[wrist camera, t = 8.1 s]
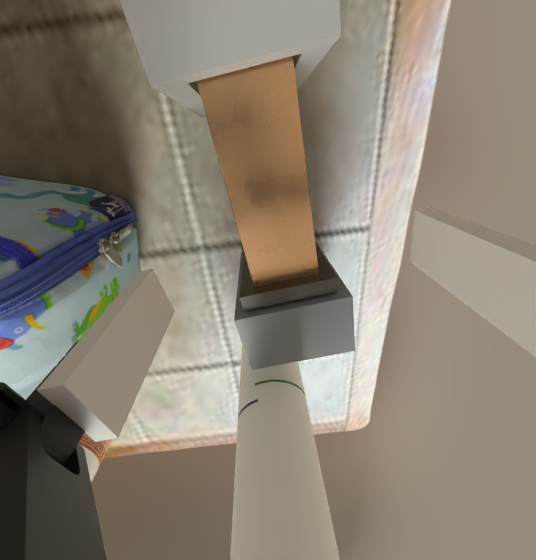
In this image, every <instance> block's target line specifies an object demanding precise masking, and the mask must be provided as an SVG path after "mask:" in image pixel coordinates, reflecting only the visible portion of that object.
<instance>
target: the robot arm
mask: <svg viewBox="0 0 536 560" xmlns="http://www.w3.org/2000/svg"><path fill="white" fill-rule="evenodd" d="M410 262H411V263H412V264H413V265H415V266H416V267H417V268H419V269H420V270H421V271H423V272H424V273H426V274H427V275H428V276H429V277H431V278H432V279H433V280H435V281H436V282H437V283H439V284H440V285H441V286H443V287H444V288H445V289H447V290H448V291H449V292H450V293H452V294H453V295H454V296H456V297H457V298H458V299H460V300H461V301H462V302H464V303H465V304H466V305H468V306H469V307H470V308H472V309H473V310H474V311H476V312H477V313H478V314H479V315H481V316H482V317H483V318H485V319H486V320H487V321H489V322H490V323H491V324H493V325H494V326H495V327H497V328H498V329H499V330H501V331H502V332H503V333H505V334H506V335H507V336H508V337H510V338H511V339H512V340H514V341H515V342H517V343H518V344H519V345H520V346H522V347H523V348H524V349H526V350H527V351H528V352H530V353H531V354H532V355H534V356H535V357H536V245H533V244H531V243H528V242H525V241H522V240H520V239H517V238H514V237H511V236H509V235H506V234H503V233H501V232H498V231H495V230H492V229H490V228H487V227H484V226H481V225H478V224H476V223H473V222H470V221H468V220H465V219H462V218H459V217H457V216H454V215H451V214H449V213H446V212H443V211H440V210H438V209H435V208H432V207H430V208H426V209H421V210H417V211H415V216H414V226H413V235H412V245H411V254H410ZM173 314H174V309H173V307H172V305H171V303H170V301H169V300H168V298H167V296H166V294H165V292H164V290H163V288H162V286H161V284H160V282H159V280H158V278H157V276H156V274H155V273H154V271H153V269H150V270H146V271H141V272H138V273H137V274H136V275H135V276H134V278H133V279H132V280H131V281H130V282H129V283H128V285H127V286H126V287H125V288H124V289H123V290H122V292H121V293H120V294H119V295H118V296H117V297H116V299H115V300H114V301H113V302H112V303H111V304H110V305H109V307H108V308H107V309H106V310H105V311H104V312H103V314H102V315H101V316H100V317H99V318H98V319H97V321H96V322H95V323H94V324H93V325H92V326H91V328H90V329H89V330H88V331H87V332H86V333H85V335H84V336H83V337H82V338H81V339H80V340H78V341H77V342H76V343H75V344H74V345H73V346H72V347H71V348H70V350H69V351H68V352H67V353H66V354H65V355H66V356H64V357H63V358H62V359H61V360H60V361H59V362H58V363H57V364H58V365H57V366H55V367H54V368H53V369H52V370H51V371H50V373H49V374H48V375H47V376H46V377H45V378H44V379H43V381H42V382H41V383H40V384H39V385H38V386H37V388H36V389H35V390H34V391H33V392H32V393H31V394H30V396H29V397H28V398H27V399H26V400H25V399H24V398H23V397H21V396H20V395H19V394H18V393H17V392H15V391H14V390H13V389H12V388H10V387H9V386H8V385H7V384H6V383H3V382H0V560H106V555H105V551H104V545H103V540H102V535H101V530H100V525H99V520H98V515H97V510H96V505H95V500H94V495H93V491H92V485H91V480H90V475H89V470H88V465H87V460H86V455H85V450H84V449H83V447H82V446H81V445H80V444H79V441H80V439H81V438H82V436H83V434H84V432H85V433H86V434H87V435H88V436H89V437H91V438H92V439H93V440H94V441H95V442H98V441H103V440H109V439H114V438H118V436H119V434H120V432H121V430H122V428H123V425H124V423H125V421H126V419H127V416H128V414H129V412H130V410H131V407H132V405H133V403H134V401H135V399H136V396H137V394H138V392H139V390H140V387H141V385H142V383H143V381H144V378H145V376H146V374H147V372H148V370H149V367H150V365H151V363H152V361H153V358H154V356H155V354H156V352H157V349H158V347H159V345H160V343H161V340H162V338H163V336H164V334H165V332H166V329H167V327H168V325H169V323H170V320H171V318H172V316H173Z"/></svg>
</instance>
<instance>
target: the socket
mask: <svg viewBox="0 0 536 560" xmlns="http://www.w3.org/2000/svg"><path fill="white" fill-rule="evenodd" d="M315 243H316V241H315ZM316 245H317V246H318V244H317V243H316ZM318 248H319V249H320V247H319V246H318ZM320 251H321V252H322V250H321V249H320ZM322 254H323V255H324V253H323V252H322ZM245 257H246V256H245V254H241V262H240V272H239V281H238V290H237V300H236V309H235V318H234V321H235V324H236V327H237V330H238V332H239V335H240V338H241V341H242V344H243V346H244V349H245V352H246V355H247V358H248V360H249V363H250V366H251V369H252V370H256V369H261V368H266V367H271V366H276V365H281V364H287V363H292V362H297V361H302V360H307V359H313V358H318V357H323V356H328V355H333V354H339V353H344V352H349V351H354V350H355V342H354V319H353V296H352V295H351V293H350V292H349V290H348V289H347V287H346V286H345V284H344V283H343V281H342V280H341V278H340V277H339V275H338V274H337V272H336V271H335V269H334V268H333V267H332V265H331V264H330V262H329V261H328V259H327V258H326V256H325V255H324V257H325V258H326V260H327V261H328V263H329V264H330V266H331V267H332V269H333V270H334V272H335V274H336V275H337V277H338V284H339V291H338V292H333V293H328V294H323V295H319V296H314V297H309V298H304V299H299V300H294V301H290V302H285V303H280V304H275V305H270V306H265V307H261V308H256V309H251V310H246V311H244V310H243V307H242V304H241V301H240V288H241V276H242V265H243V258H245Z"/></svg>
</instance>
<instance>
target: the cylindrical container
mask: <svg viewBox="0 0 536 560" xmlns="http://www.w3.org/2000/svg"><path fill="white" fill-rule="evenodd" d="M233 504H234V505H233V521H232V540H231V558H230V560H340V559H339V555H338V549H337V545H336V540H335V535H334V530H333V526H332V521H331V516H330V511H329V507H328V502H327V497H326V492H325V488H324V483H323V478H322V473H321V469H320V464H319V459H318V454H317V450H316V445H315V440H314V435H313V431H312V426H311V421H310V416H309V411H308V407H307V402H306V398H305V392H304V388H303V383H302V378H301V374H300V369H299V364H298V361H297V362H292V363H287V364H281V365H276V366H271V367H266V368H261V369H256V370H252V369H251V366H250V363H249V360H248V358H247V355H246V352H245V349H244V346H243V344H242V355H241V374H240V392H239V410H238V429H237V447H236V466H235V485H234V503H233Z"/></svg>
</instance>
